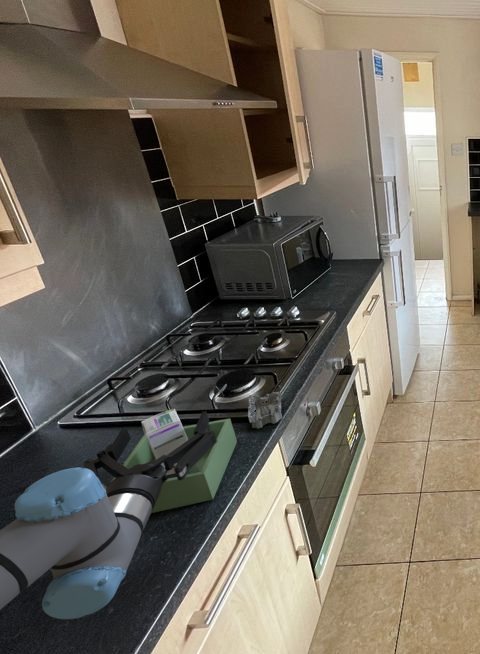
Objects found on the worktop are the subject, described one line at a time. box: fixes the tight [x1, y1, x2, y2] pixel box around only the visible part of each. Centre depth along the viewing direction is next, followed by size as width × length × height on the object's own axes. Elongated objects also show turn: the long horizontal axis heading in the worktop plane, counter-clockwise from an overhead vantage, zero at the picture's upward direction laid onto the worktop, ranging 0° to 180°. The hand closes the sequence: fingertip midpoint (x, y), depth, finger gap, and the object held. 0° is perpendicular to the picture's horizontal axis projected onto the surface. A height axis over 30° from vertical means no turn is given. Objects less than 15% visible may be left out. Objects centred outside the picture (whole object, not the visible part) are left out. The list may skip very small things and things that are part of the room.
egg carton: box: [247, 391, 283, 429], centre depth 108 cm, size 11×8×4 cm
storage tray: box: [110, 418, 238, 514], centre depth 89 cm, size 17×17×7 cm
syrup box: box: [141, 408, 200, 474], centre depth 87 cm, size 6×6×14 cm
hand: (167, 424), depth 87 cm, fingers open, 13 cm apart
